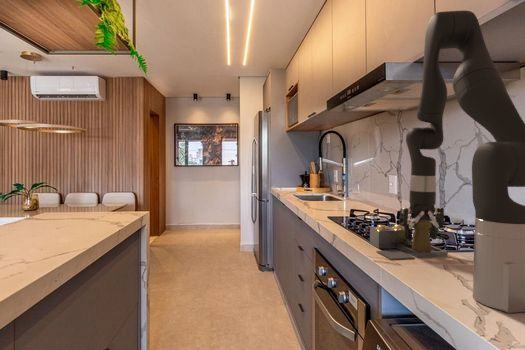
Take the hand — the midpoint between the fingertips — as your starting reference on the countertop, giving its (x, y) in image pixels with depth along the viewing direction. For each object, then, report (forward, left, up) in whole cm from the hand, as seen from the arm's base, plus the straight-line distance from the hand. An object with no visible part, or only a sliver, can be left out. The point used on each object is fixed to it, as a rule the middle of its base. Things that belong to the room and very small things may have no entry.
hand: (421, 239), depth 99 cm
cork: (0, 0, -5) cm, 5 cm away
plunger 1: (+9, +9, -2) cm, 13 cm away
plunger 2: (+9, +2, -2) cm, 9 cm away
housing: (+3, +3, -4) cm, 6 cm away
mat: (-2, +11, -4) cm, 12 cm away
